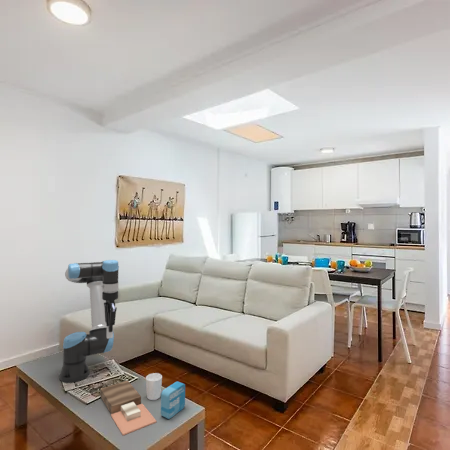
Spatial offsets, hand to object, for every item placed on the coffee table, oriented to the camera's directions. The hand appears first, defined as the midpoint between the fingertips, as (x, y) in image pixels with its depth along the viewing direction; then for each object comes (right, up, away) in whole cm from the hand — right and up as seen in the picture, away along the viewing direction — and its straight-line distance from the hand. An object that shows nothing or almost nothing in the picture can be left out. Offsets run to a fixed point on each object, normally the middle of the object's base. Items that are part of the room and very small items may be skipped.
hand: (109, 337), depth 162 cm
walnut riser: (+7, -30, -4) cm, 31 cm away
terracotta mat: (+17, -30, -18) cm, 39 cm away
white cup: (+22, -30, +1) cm, 37 cm away
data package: (+34, -31, -12) cm, 47 cm away
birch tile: (+15, -30, -15) cm, 36 cm away
